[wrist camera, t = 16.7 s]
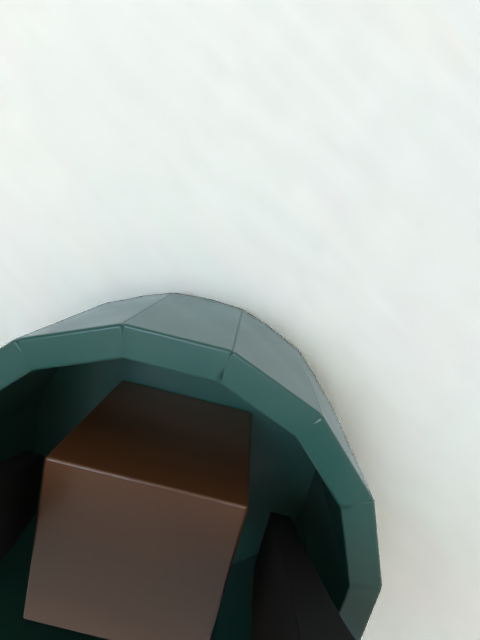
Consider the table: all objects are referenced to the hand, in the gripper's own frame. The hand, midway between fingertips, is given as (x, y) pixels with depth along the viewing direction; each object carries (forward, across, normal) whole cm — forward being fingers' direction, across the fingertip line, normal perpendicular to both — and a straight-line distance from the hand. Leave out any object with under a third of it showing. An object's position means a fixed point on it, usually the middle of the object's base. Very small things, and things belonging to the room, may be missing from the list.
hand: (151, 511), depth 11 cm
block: (+3, 0, 0) cm, 3 cm away
